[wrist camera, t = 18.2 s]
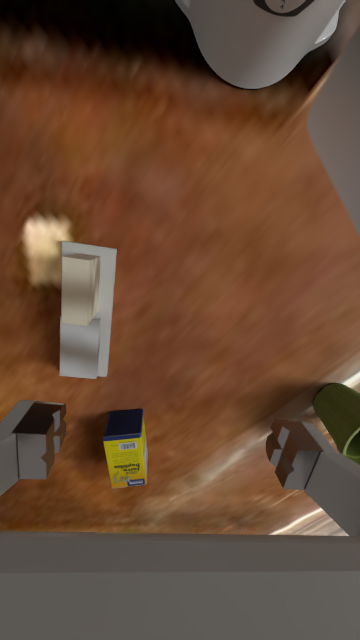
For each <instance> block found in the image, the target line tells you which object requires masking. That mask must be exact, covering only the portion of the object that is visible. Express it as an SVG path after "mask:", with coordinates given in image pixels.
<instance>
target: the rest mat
mask: <svg viewBox="0 0 360 640" xmlns="http://www.w3.org/2000/svg"><path fill="white" fill-rule="evenodd" d="M75 253H83V254H90V255H97V256H101V265H100V283H99V300H98V312H97V313H96V315H95V316H94V317H100V318H101V331H100V347H99V363H98V375H97V376H102V377H106V376H107V372H108V359H109V346H110V333H111V320H112V307H113V294H114V280H115V267H116V254H117V249H114V248H108V247H101V246H95V245H88V244H82V243H76V242H69V241H62V256H67V255H71V254H75ZM61 315H62V299H61Z"/></svg>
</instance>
